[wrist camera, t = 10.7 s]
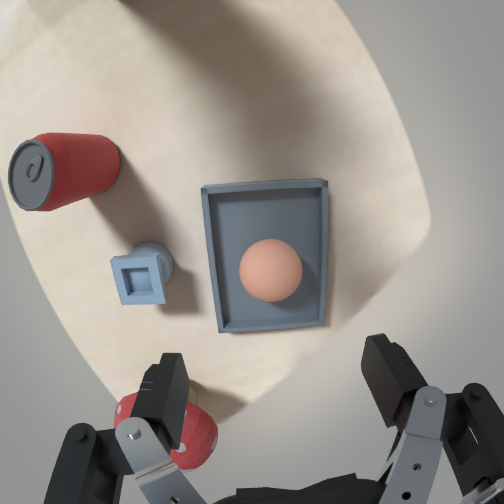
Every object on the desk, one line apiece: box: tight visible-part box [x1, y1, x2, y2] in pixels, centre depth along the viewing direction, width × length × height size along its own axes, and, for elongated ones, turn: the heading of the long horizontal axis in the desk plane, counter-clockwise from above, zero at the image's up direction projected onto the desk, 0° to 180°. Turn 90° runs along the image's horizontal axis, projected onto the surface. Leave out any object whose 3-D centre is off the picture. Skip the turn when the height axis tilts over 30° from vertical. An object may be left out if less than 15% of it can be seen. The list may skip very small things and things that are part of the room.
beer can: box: [8, 133, 120, 211], centre depth 21 cm, size 7×7×12 cm
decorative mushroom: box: [114, 386, 218, 473], centre depth 30 cm, size 13×13×15 cm
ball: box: [239, 239, 302, 302], centre depth 27 cm, size 6×6×6 cm
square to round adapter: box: [110, 241, 174, 305], centre depth 28 cm, size 5×5×5 cm
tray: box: [201, 179, 328, 333], centre depth 29 cm, size 16×12×2 cm
